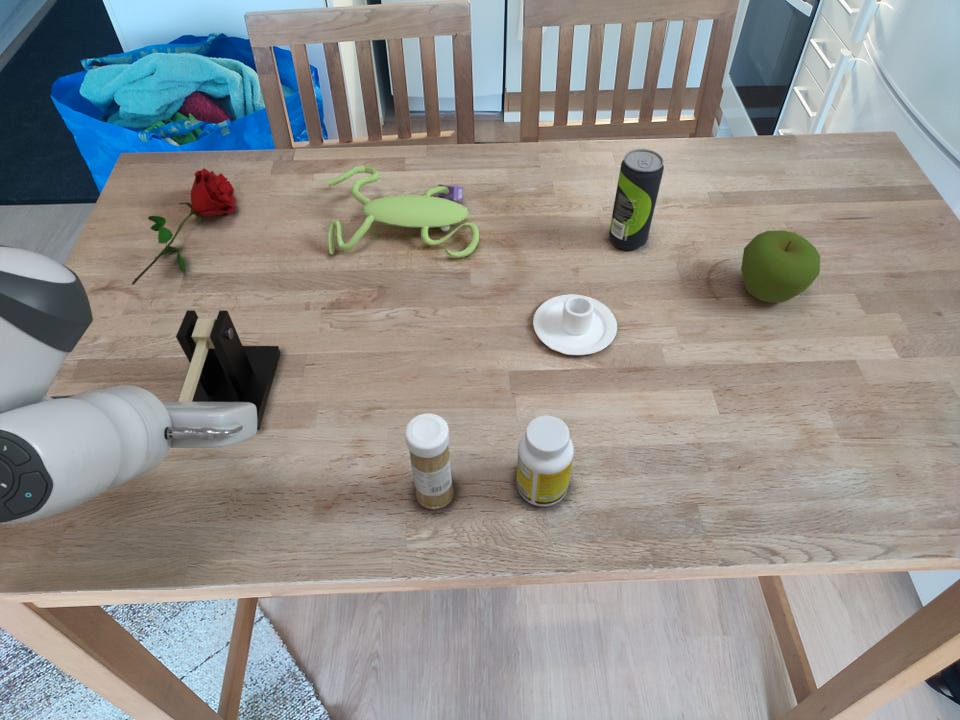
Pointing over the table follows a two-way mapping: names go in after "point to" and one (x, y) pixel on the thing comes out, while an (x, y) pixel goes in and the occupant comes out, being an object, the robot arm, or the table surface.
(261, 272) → the table surface
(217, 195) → the flower
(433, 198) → the figurine
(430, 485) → the sprinkles bottle
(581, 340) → the candle holder
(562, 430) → the pill bottle
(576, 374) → the table surface
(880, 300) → the table surface
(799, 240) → the apple
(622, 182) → the beverage can
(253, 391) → the bracket
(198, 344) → the lever
